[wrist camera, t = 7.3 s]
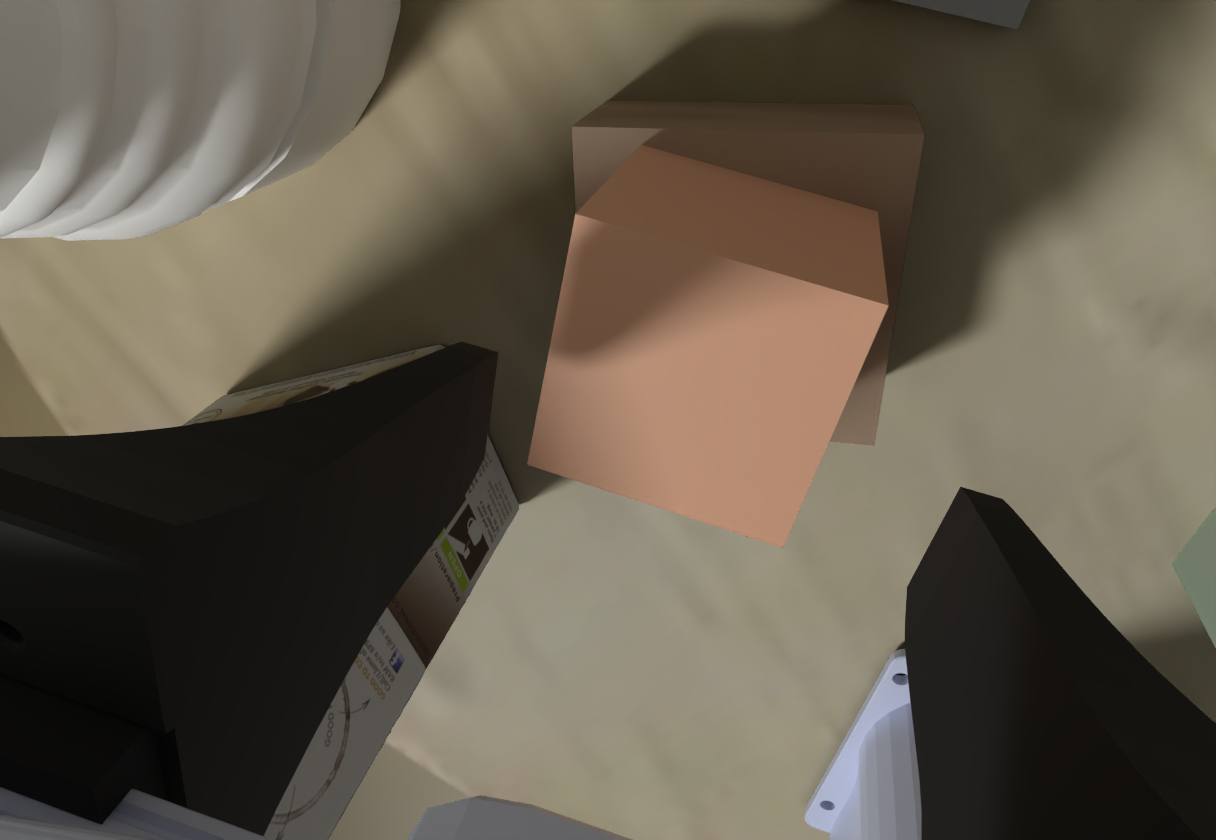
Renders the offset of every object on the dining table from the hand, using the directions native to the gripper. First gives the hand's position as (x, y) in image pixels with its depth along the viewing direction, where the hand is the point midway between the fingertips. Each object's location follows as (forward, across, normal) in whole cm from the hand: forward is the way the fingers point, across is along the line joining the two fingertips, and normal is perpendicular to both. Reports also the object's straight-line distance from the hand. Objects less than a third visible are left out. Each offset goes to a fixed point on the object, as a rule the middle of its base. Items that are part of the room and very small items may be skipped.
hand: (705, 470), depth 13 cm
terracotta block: (+7, +1, 0) cm, 7 cm away
